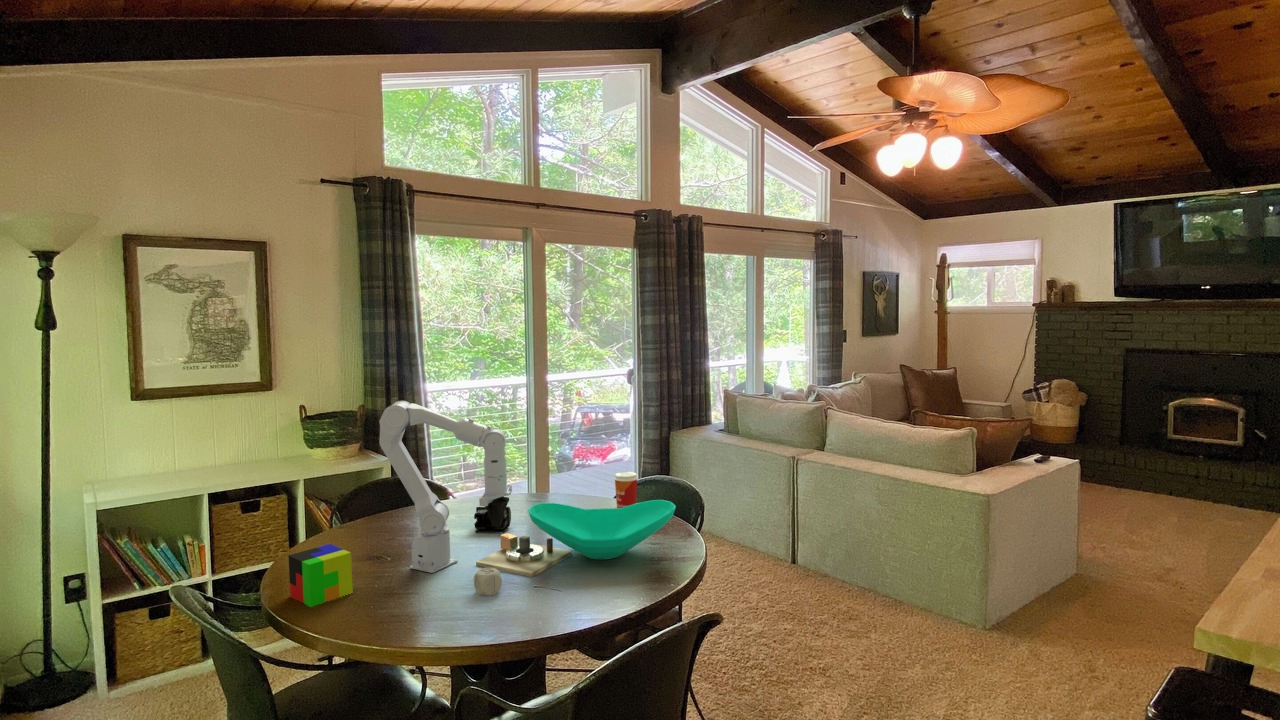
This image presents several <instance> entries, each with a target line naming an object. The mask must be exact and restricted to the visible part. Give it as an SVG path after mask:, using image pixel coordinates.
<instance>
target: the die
mask: <svg viewBox="0 0 1280 720" xmlns="http://www.w3.org/2000/svg"><path fill="white" fill-rule="evenodd" d="M502 583H503V581H502V575H501V573H500V570H497V569H496V568H486V567H482V568H480V569H478V570H477V571H476V573H475V574H474V576H473V586H474V587H473V588H474V589H475V592H476V594H478V595H480V596H484V597H489V596H494V595H496V594H497V593H499V591H500V590H501V588H502Z"/></svg>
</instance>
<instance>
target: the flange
mask: <svg viewBox="0 0 1280 720" xmlns="http://www.w3.org/2000/svg"><path fill="white" fill-rule="evenodd" d="M499 540H500V550H501V549H503V550H506V557H507V558H508V559H509V560H512V561H518V562H519V561H520V560H521V562H523V561H530V560H536V559H539V558H540V557H542V556H543V554H544V549H543V548H542V547H541V546H538V545H539V544H537V545H530V552H531V553H527V554H520V550H519V546H518V541H519V540H518V536H517V535H513V534H511V533H508V532H507V533H502V534H500V538H499Z"/></svg>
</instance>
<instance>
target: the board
mask: <svg viewBox="0 0 1280 720" xmlns="http://www.w3.org/2000/svg"><path fill="white" fill-rule="evenodd" d="M517 541H518V546H519V550H520V554H527V553H531V552H530V545H538V546H541V547H542V548H543V549H544V554H543V556H542V557H540V558H539V559H536V560H530V561H523V562H521V560H520V561H519V562H518V561H512V560H509V559H508V558H507V557H506V550H503V549H501V548H500V550H497V551H496V552H493V553H491V554H489V555H487V556H485V557H483V558H481V559H479V560H477V561H475V566H477V567H480V568H481V567H482V568H496V569H497V570H498V571H501V572H507V573H511V574H515V575H522V576H527V577H530V578H533V577H535V576H537V575H538V574H540V573H542V572H543V571H546V570H547V569H549V568H551V567H553V566H554V565H556V564H557V563H559V562H562V561H563V560H565V559H566V558H568V557H570V556H572V555H573V550H572V549H571V550H570V549H565V548H557V547H554V546H553V552H551V553H548V552H547V545H542V544H541V545H540V544H536V543H532V542H531V536H528V535H522V536H519V537H518V540H517Z"/></svg>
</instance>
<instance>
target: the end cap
mask: <svg viewBox="0 0 1280 720" xmlns="http://www.w3.org/2000/svg"><path fill="white" fill-rule="evenodd" d="M475 510H476V511H475V513H474V514H473V515H474V516H473V519H474V520H476V521H475V522H474V524H473V525H474V528H475V534H506V532H507V531H508V529H509V527H510V525H511V523H512V522H511V520H512V510H511V507H510V506H506V509H505V512H504V516H503V522H502V525H501V526H500V527H496V526H492V523H491V519H490V516H489V513H488V511H487V509H486V507H485V506H477V507H476V509H475Z"/></svg>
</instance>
